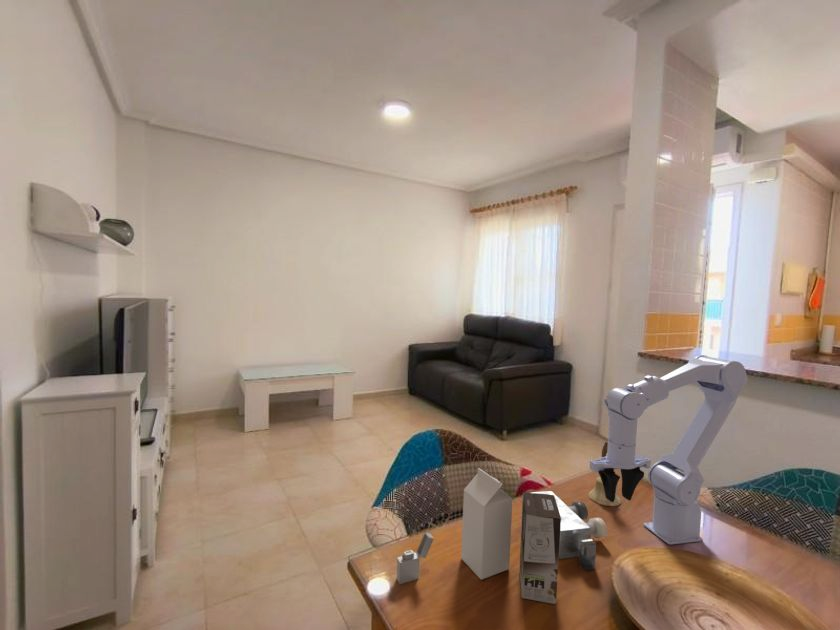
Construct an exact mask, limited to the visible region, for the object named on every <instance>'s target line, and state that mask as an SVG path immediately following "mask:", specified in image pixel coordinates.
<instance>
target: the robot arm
mask: <svg viewBox="0 0 840 630" xmlns="http://www.w3.org/2000/svg"><path fill="white" fill-rule="evenodd" d="M748 381H749V379H748V374H747V371H746V368H745V366H744V365H743V363H741V362H740V361H736V360H727V359H722V358H717V357H710V356H708V355H705V354H702V355H700V354H699V355H697V356H695V357H692V358H689V360H688V362H687V363H686V364H684V365H682V366H680V367H678V368H677V369H674V370H672V371H671V372H669V373H667V374H665V375H663V376H661V377H659V376H655V375H652V376H651V375H646V376H644V377H643V379H642V380H640V381H637V382H636V383H633V384H632V383H629V384H627V385H626V386H625V387H624V388H622V387H615V388H613V389H611V390H610V391H609V392H608V393H607V395H606V398H604V400H603V402H604V406H605V407H606V409H607V412H608V413H607V416H608V417H609V419H608V436H607V442H608V449H607V454H606V456H605V457H602V456H601V457H598V458H597V459H592V460H591V459H590V460H589V470H591V471H593V472H594V473H598V475H599V477H601V480H602V483H603V486H604V491H605V496H606V498H607V499H608V500H609V501H611V502H614V500H615V493H616V494H617V492H616V491H617V486H618V483H619V480H620V478H621V496H622V497H623V499H624V498H625V499H626V500H627V501H632V497H633V495H634V493H635V490H636V488H637V486H638V485H639V483H640V481H641V480H642V479H644V477H645V471H643V470H641V468H645V469H649V470H648V472H647V478H648V482H649V483H650V484H651V486H652V491H653V492H654V495H653V496H654V497H653V511H652V521H651V522H644V523H643V527H645V528H647V530H649V531H651V532H652V533H653V534H655V535H656V536H657V537H658V538H660V539H661V540H662V541H663V542H665V543H666V544H668V545H679V544H687V543H694V542H702V541H703V537H701V536H700V535H701V522H702V510H701V507H700V504H699V503H698V501H697V500H698V499H699V497H700V496H701V495H700V494H701V490H702V485H703V483H704V482H705V479H704V477H703V474H702V472H701V471H700V468H699V466H700V464H701V462H703V459H704V458H705V456H706V454H707V452H708V451H709V449H710V447H711V446H712V444H713V442H714V440H715V439H716V437H717V436H718V434H719V432H720V430H721V429H722V427H723V425H724V423H725V422H726V420H727V418H728V417H729V415H730V414H731V411H732V410H733V408H734V407H735V405H736V402H737V399H738V397H739V396H740V394H741V393H742V391H743V389H744V387H745V386H746V384H747V383H748ZM693 383H696V384H697V386H698V388H699V389H700V391H701V392H702V393H703V394H704V400H703V401H702V404H701V405H700V407H699V409H698V410H697V412H696V414H695V415H694V417H693V419H692V421H691V422H690V423H689V426H688V427H687V429H686V431H685V433H683V436H682V437H681V439H680V441H679V442H678V444H677V445H676V447H675V449H674V450H673V452H672V453H671V452H670V453H667V454H663V455H661V456H660V457H659V459H658V460H657V462H655V463H654V464H652V465H651V459H649V458H648V457H645V456H636V446H637V434H638V433H637V431H638V430H637V429H638V418H640V417H641V416H643V414H644V412H645V410H647V409H648V407H651V406H653V405H655V404H658V403H660V402H661V401H662V402H663V401H664V400H666V399H668V397H669V396H670V395H669V394H670V392H672V391H674V390H677V389H680V388H682V387H685V386H689V385H691V384H693ZM615 470H620V474H621V475H618V474H617V473H616V471H615ZM620 476H621V477H620Z"/></svg>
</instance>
